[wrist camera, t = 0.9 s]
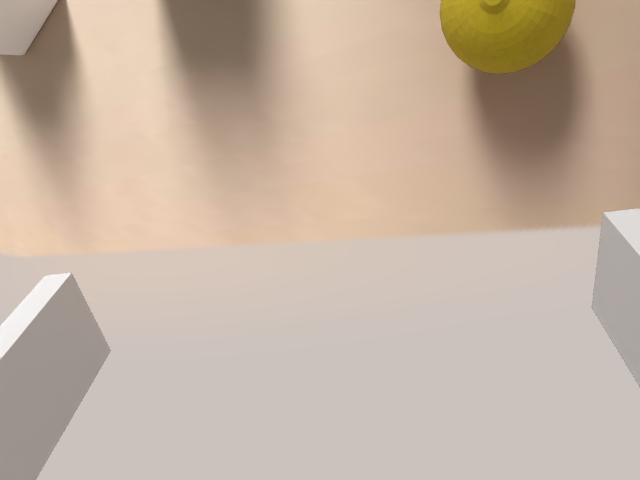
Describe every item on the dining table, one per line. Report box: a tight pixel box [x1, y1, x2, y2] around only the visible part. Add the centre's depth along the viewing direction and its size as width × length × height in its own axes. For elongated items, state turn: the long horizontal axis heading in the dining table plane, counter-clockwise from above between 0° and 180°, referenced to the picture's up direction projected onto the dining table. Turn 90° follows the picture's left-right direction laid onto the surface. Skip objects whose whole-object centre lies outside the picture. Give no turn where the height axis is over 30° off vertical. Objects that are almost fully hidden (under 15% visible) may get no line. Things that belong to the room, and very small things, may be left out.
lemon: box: [440, 0, 575, 74], centre depth 23 cm, size 6×6×8 cm
